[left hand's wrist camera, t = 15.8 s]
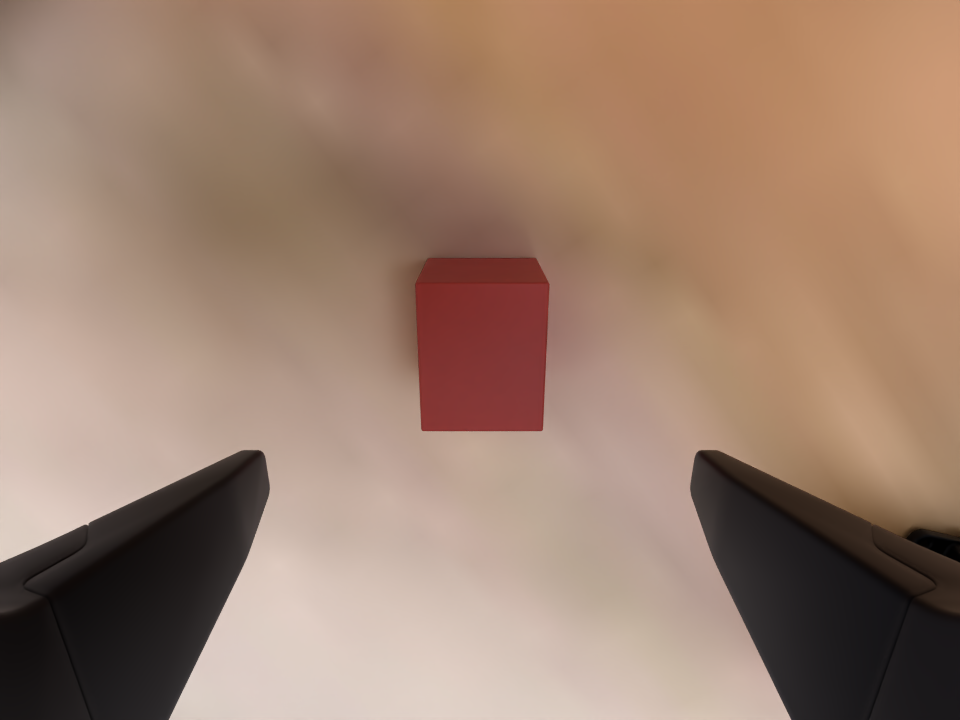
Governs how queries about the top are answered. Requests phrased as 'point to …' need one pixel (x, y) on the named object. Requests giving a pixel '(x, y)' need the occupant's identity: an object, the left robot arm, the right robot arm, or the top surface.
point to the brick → (482, 344)
